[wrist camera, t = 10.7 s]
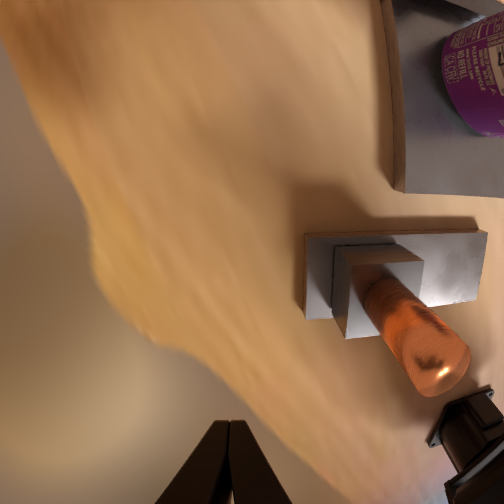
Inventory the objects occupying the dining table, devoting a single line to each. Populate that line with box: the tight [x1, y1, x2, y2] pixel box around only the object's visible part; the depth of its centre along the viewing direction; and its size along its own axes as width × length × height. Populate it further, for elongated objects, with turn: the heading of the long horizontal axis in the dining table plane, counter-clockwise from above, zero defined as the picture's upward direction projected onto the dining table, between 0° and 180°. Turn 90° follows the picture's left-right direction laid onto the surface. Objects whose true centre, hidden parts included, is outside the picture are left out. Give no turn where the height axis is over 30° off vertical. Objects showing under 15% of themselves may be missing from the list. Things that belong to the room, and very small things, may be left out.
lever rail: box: [303, 229, 488, 320], centre depth 19 cm, size 5×13×1 cm, turn 92°
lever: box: [331, 244, 471, 397], centre depth 14 cm, size 4×4×9 cm
